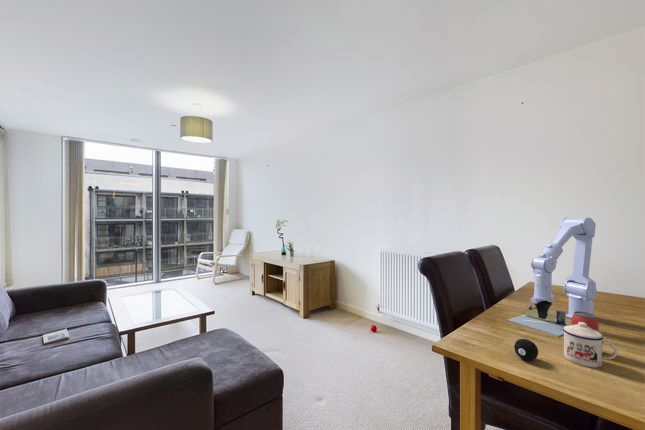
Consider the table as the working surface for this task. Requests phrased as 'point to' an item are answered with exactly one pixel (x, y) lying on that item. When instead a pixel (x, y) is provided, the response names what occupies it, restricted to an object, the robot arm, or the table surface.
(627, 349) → the table surface
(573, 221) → the robot arm
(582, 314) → the beer can
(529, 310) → the swing bar
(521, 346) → the billiard ball
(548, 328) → the door panel
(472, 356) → the table surface
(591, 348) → the teacup with lid
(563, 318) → the door knob
